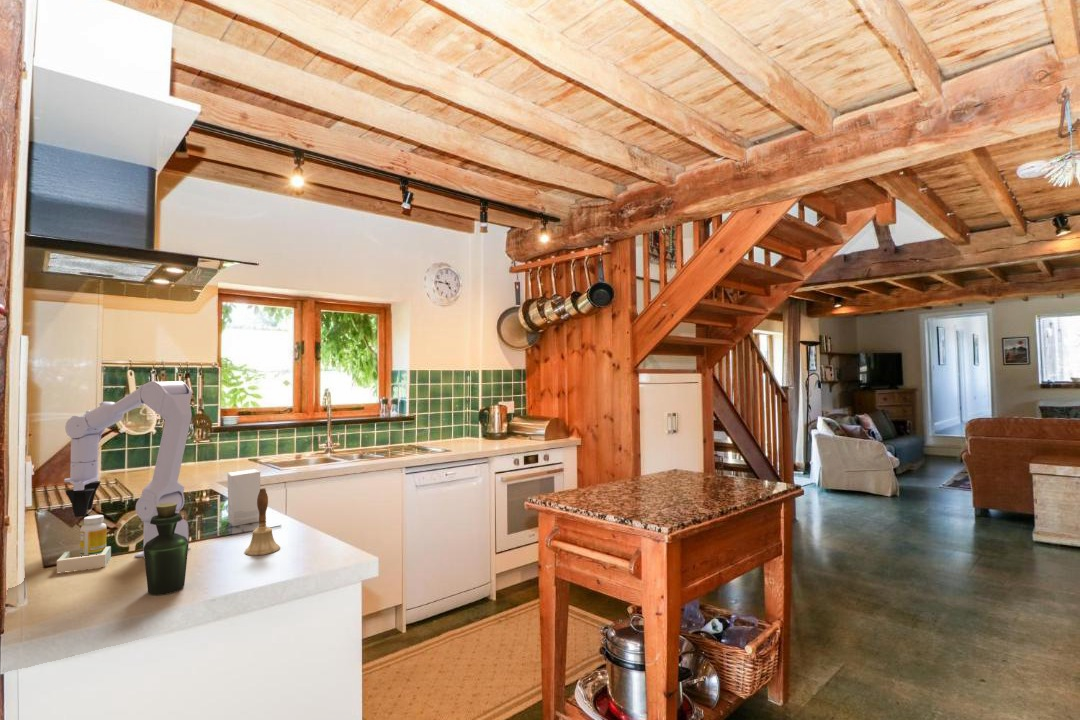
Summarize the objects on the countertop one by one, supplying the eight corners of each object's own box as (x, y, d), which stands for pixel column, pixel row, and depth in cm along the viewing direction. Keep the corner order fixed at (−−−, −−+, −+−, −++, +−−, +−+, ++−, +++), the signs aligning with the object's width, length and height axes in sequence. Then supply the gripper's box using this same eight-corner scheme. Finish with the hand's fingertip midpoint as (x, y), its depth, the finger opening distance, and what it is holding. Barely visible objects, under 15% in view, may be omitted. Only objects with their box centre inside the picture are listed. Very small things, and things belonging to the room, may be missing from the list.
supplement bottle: (74, 558, 142) (74, 519, 143) (89, 551, 148) (89, 514, 148) (97, 557, 143) (97, 519, 143) (111, 550, 148) (111, 513, 148)
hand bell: (240, 550, 148) (241, 488, 148) (274, 543, 153) (274, 484, 154) (248, 558, 142) (249, 493, 142) (284, 551, 147) (284, 489, 147)
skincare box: (256, 517, 181) (256, 468, 181) (261, 522, 176) (261, 471, 176) (226, 522, 175) (226, 471, 176) (231, 527, 170) (231, 474, 170)
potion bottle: (194, 588, 122) (194, 504, 122) (149, 600, 116) (149, 511, 116) (181, 579, 127) (182, 498, 127) (138, 590, 121) (138, 505, 121)
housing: (64, 564, 138) (64, 551, 138) (110, 558, 142) (110, 546, 142) (56, 573, 131) (56, 560, 131) (105, 567, 136) (105, 554, 136)
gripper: (71, 458, 154) (69, 508, 154) (58, 466, 141) (57, 521, 141) (103, 456, 158) (102, 505, 157) (94, 464, 145) (92, 518, 145)
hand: (83, 513), depth 149 cm, fingers open, 7 cm apart
